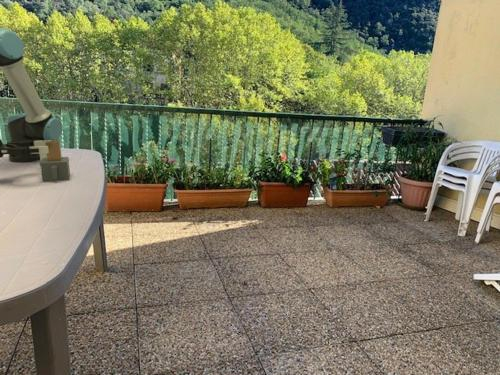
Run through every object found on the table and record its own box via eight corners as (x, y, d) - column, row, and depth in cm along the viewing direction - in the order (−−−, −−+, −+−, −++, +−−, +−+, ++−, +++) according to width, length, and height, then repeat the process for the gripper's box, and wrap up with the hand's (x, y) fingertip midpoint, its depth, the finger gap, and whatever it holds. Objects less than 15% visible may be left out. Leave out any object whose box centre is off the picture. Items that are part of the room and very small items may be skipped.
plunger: (50, 173, 167) (46, 140, 163) (63, 173, 169) (59, 140, 165) (49, 176, 164) (45, 142, 159) (62, 175, 165) (58, 141, 161)
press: (45, 175, 169) (42, 157, 167) (70, 174, 173) (68, 156, 171) (41, 183, 158) (39, 164, 155) (68, 182, 161) (66, 163, 159)
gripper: (-2, 151, 166) (53, 149, 174) (-16, 164, 144) (48, 161, 152) (-5, 134, 164) (51, 133, 172) (-19, 145, 142) (45, 142, 150)
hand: (49, 146), depth 162 cm, fingers open, 13 cm apart
